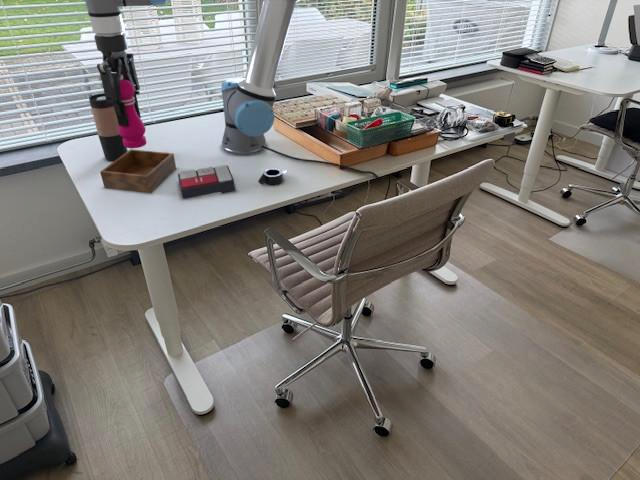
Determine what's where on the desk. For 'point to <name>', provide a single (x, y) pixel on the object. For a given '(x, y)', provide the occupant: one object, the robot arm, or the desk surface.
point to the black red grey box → (206, 181)
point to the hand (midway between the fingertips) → (130, 121)
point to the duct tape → (272, 177)
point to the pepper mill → (131, 118)
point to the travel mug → (107, 127)
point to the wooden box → (138, 171)
